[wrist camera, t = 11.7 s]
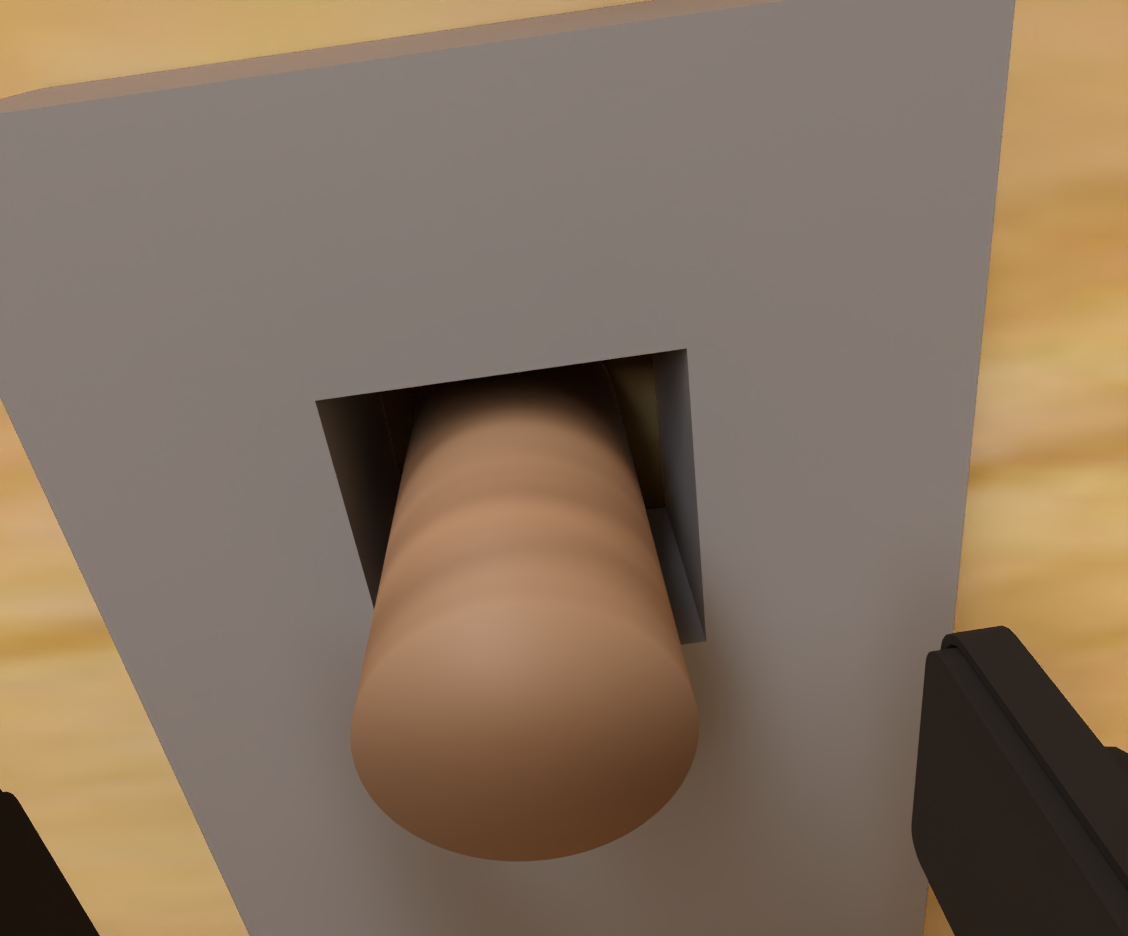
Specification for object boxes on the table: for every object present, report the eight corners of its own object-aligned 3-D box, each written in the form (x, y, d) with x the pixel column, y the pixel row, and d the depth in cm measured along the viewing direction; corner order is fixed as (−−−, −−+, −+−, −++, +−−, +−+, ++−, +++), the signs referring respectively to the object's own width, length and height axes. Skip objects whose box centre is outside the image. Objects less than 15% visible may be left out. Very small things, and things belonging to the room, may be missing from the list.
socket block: (39, 89, 15) (-123, 131, 11) (883, -33, 15) (1018, -34, 11) (336, 881, 25) (304, 1053, 21) (852, 810, 25) (919, 971, 21)
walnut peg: (398, 333, 18) (310, 630, 10) (605, 304, 18) (688, 578, 10) (438, 511, 19) (392, 881, 12) (626, 485, 19) (708, 838, 12)
